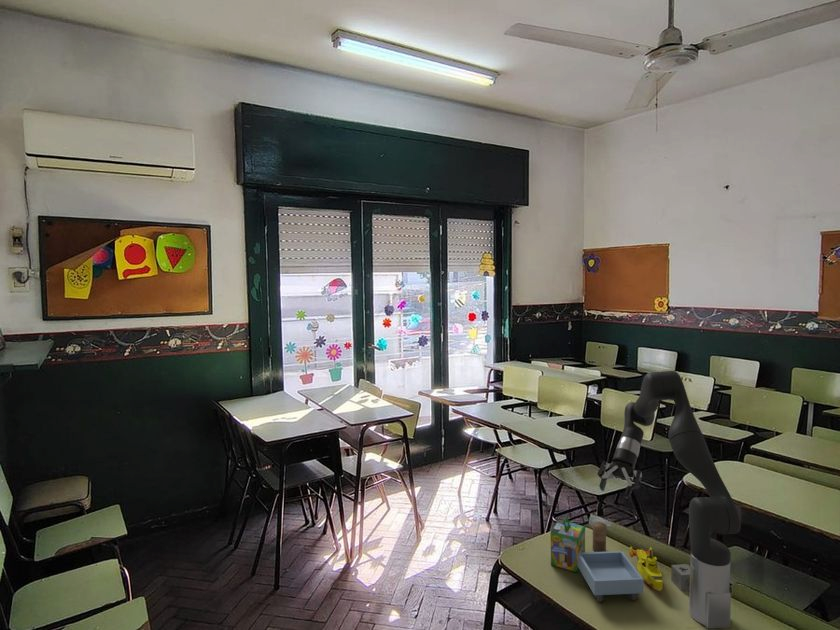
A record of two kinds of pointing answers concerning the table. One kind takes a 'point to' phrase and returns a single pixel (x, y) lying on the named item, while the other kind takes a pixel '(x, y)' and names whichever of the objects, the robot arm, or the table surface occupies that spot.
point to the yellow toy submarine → (648, 568)
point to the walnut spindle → (599, 537)
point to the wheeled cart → (610, 574)
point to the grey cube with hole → (681, 576)
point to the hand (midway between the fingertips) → (613, 493)
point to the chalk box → (567, 544)
